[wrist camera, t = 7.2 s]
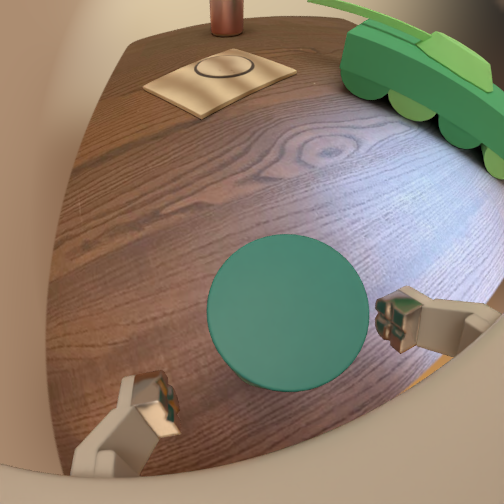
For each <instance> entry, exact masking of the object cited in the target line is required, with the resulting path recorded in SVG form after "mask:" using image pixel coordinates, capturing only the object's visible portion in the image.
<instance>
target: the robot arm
mask: <svg viewBox="0 0 504 504" xmlns="http://www.w3.org/2000/svg"><path fill="white" fill-rule="evenodd" d="M375 309H376V310H377V311H378V314H377V316H376V318H375V327H376V330H377V332H378V334H379V335H380V336H381V337H382V338H383V339H384V340H389V341H390V345H391V346H392V347H393V348H394V349H395V350H396V351H397V352H399V353H400V354H401V353H403V352H405V351H407V350H409V349H410V348H412V347H414V346H416V345H417V346H418V347H421V348H424V349H428V350H431V351H434V352H438V353H441V354H444V355H448V356H451V357H454V358H452V359H451V360H450V361H449V362H447V363H446V364H445V365H443V366H442V367H441V368H439V369H438V370H436V371H435V372H434V373H432V374H431V375H429V376H428V377H426V378H425V379H423V380H422V381H421V382H419V383H417V384H416V385H414V386H413V387H411V388H410V389H408V390H407V391H405V392H403V393H402V394H400V395H398V396H397V397H395V398H393V399H392V400H390V401H388V402H386V403H385V404H383V405H381V406H379V407H378V408H376V409H374V410H372V411H370V412H368V413H366V414H364V415H362V416H360V417H358V418H356V419H354V420H352V421H350V422H348V423H346V424H344V425H342V426H340V427H337V428H335V429H333V430H331V431H328V432H326V433H324V434H321V435H319V436H316V437H314V438H311V439H309V440H306V441H304V442H301V443H298V444H295V445H293V446H290V447H287V448H284V449H281V450H278V451H275V452H272V453H268V454H265V455H262V456H258V457H255V458H251V459H247V460H243V461H240V462H235V463H231V464H227V465H222V466H218V467H213V468H208V469H202V470H196V471H190V472H183V473H176V474H168V475H158V476H146V477H141V476H140V473H141V471H142V469H143V468H144V466H145V464H146V462H147V461H148V459H149V457H150V455H151V453H152V452H153V450H154V448H155V446H156V445H157V443H158V441H159V438H163V437H168V436H174V435H179V434H181V420H180V418H179V417H178V415H177V414H178V412H179V411H180V406H179V401H178V397H177V395H176V392H175V390H174V388H173V387H172V386H171V385H169V384H168V377H167V375H166V374H165V372H164V371H163V370H158V371H153V372H147V373H142V374H136V375H131V376H125V377H123V378H122V381H121V386H120V391H119V396H118V402H117V407H116V409H112V410H111V411H110V412H109V413H108V415H107V416H106V417H105V418H104V419H103V420H102V421H101V422H100V423H99V424H98V425H97V426H96V427H95V428H94V430H93V431H92V432H91V433H90V434H89V435H88V436H87V437H86V438H85V439H84V440H83V441H82V442H81V444H80V445H79V446H78V447H77V448H76V449H75V452H74V457H73V462H72V467H71V472H70V476H67V475H58V474H49V473H43V472H37V471H31V470H26V469H21V468H17V467H12V466H8V465H4V464H0V504H504V313H503V314H501V313H500V312H498V311H496V310H494V309H493V308H491V307H489V306H487V305H486V304H484V303H474V302H463V301H453V300H443V299H434V300H432V299H431V298H429V297H427V296H426V295H424V294H422V293H420V292H419V291H417V290H415V289H413V288H412V287H410V286H404V287H402V288H400V289H398V290H396V291H395V292H392V293H390V294H388V295H386V296H384V297H382V298H379V299H377V301H376V304H375Z"/></svg>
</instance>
